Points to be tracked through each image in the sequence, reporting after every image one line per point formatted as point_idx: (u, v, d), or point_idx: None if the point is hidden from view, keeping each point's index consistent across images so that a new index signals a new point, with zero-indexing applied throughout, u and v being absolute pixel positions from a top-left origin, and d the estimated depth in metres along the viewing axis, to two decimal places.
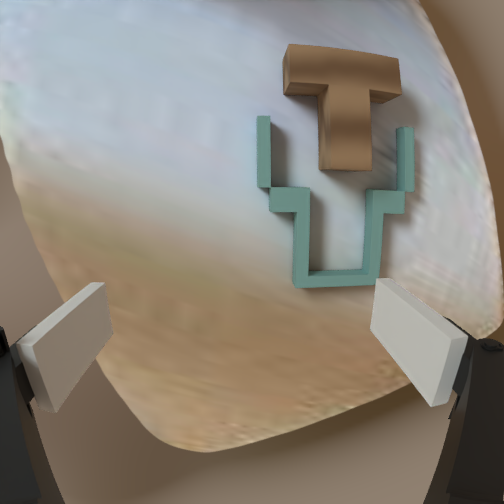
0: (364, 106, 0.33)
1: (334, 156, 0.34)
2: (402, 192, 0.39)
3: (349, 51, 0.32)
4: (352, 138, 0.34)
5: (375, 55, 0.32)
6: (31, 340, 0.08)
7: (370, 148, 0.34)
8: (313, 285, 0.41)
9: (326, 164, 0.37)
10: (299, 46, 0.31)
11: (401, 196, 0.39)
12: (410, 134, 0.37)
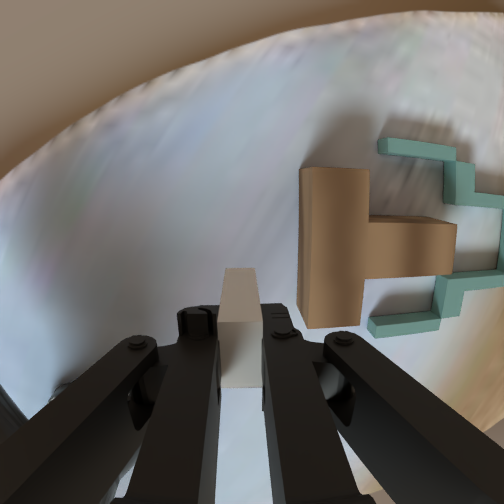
0: (391, 231, 0.27)
1: (442, 271, 0.28)
2: (457, 164, 0.29)
3: (313, 248, 0.27)
4: (426, 249, 0.27)
5: (314, 206, 0.26)
6: (232, 317, 0.11)
7: (437, 225, 0.27)
8: None
9: None
10: (311, 316, 0.28)
11: (460, 166, 0.29)
12: (396, 143, 0.28)
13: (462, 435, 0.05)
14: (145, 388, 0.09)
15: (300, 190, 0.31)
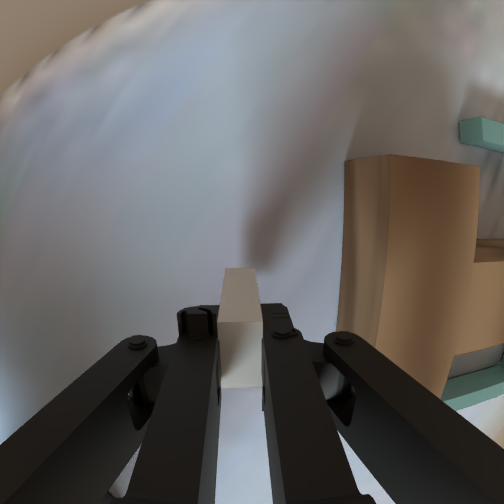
0: (500, 275, 0.13)
1: None
2: None
3: (384, 314, 0.13)
4: None
5: (392, 235, 0.12)
6: (232, 317, 0.11)
7: None
8: None
9: None
10: None
11: None
12: (492, 128, 0.14)
13: (462, 435, 0.05)
14: (145, 388, 0.09)
15: (348, 198, 0.17)
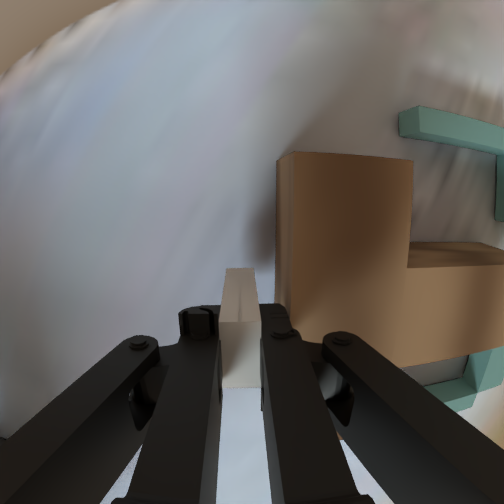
0: (445, 282, 0.13)
1: None
2: None
3: (295, 322, 0.13)
4: (494, 308, 0.13)
5: (298, 238, 0.12)
6: (233, 317, 0.11)
7: None
8: None
9: None
10: None
11: None
12: (433, 118, 0.14)
13: (461, 435, 0.05)
14: (146, 388, 0.09)
15: (277, 199, 0.17)
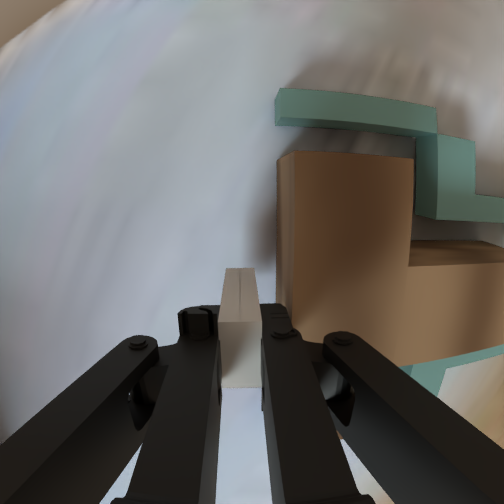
0: (446, 280, 0.13)
1: None
2: (439, 141, 0.15)
3: (296, 321, 0.13)
4: (495, 306, 0.13)
5: (299, 237, 0.12)
6: (233, 317, 0.11)
7: None
8: None
9: None
10: None
11: (447, 144, 0.15)
12: (300, 100, 0.14)
13: (461, 435, 0.05)
14: (146, 388, 0.09)
15: (278, 198, 0.17)
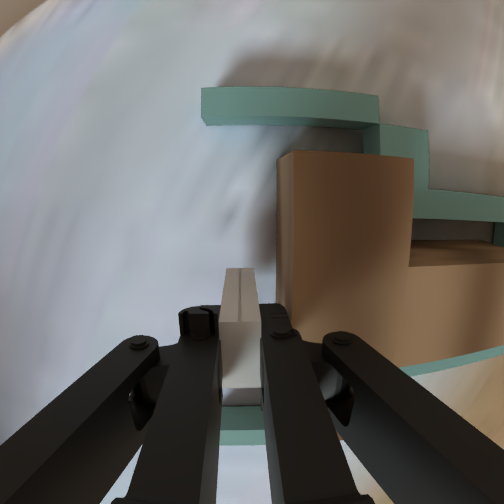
0: (447, 280, 0.13)
1: None
2: (382, 131, 0.14)
3: (296, 321, 0.13)
4: (496, 306, 0.13)
5: (298, 237, 0.12)
6: (234, 317, 0.11)
7: None
8: None
9: None
10: None
11: (391, 135, 0.15)
12: (221, 98, 0.14)
13: (461, 435, 0.05)
14: (146, 388, 0.09)
15: (278, 198, 0.17)
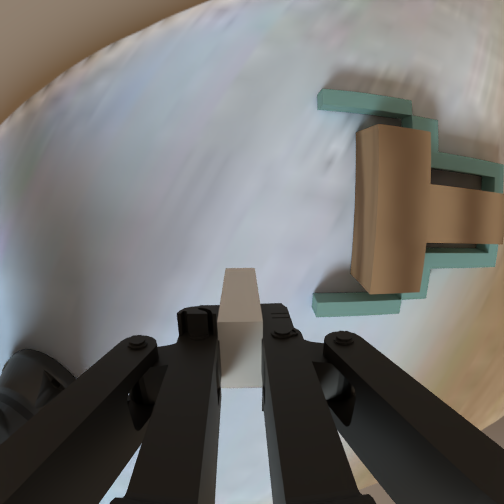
0: (450, 194, 0.24)
1: (494, 239, 0.25)
2: (413, 119, 0.26)
3: (379, 206, 0.24)
4: (481, 216, 0.24)
5: (380, 163, 0.23)
6: (232, 317, 0.11)
7: (490, 193, 0.24)
8: (496, 246, 0.28)
9: None
10: (374, 280, 0.26)
11: (418, 121, 0.26)
12: (333, 95, 0.25)
13: (462, 435, 0.05)
14: (145, 388, 0.09)
15: (358, 153, 0.28)
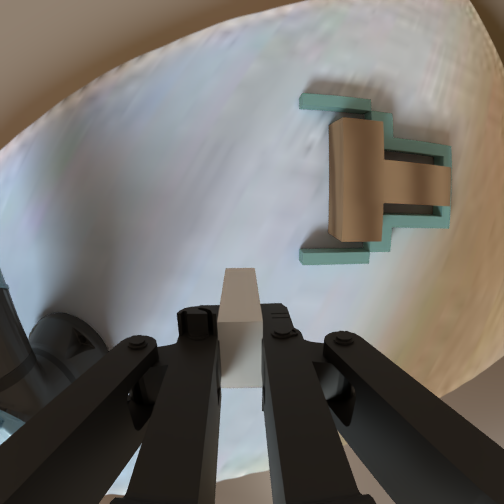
0: (401, 167, 0.34)
1: (442, 202, 0.35)
2: (372, 113, 0.36)
3: (345, 176, 0.34)
4: (428, 183, 0.34)
5: (345, 145, 0.33)
6: (232, 317, 0.11)
7: (435, 166, 0.34)
8: (448, 211, 0.39)
9: None
10: (344, 230, 0.35)
11: (376, 115, 0.36)
12: (310, 98, 0.35)
13: (462, 435, 0.05)
14: (145, 388, 0.09)
15: (330, 140, 0.38)
